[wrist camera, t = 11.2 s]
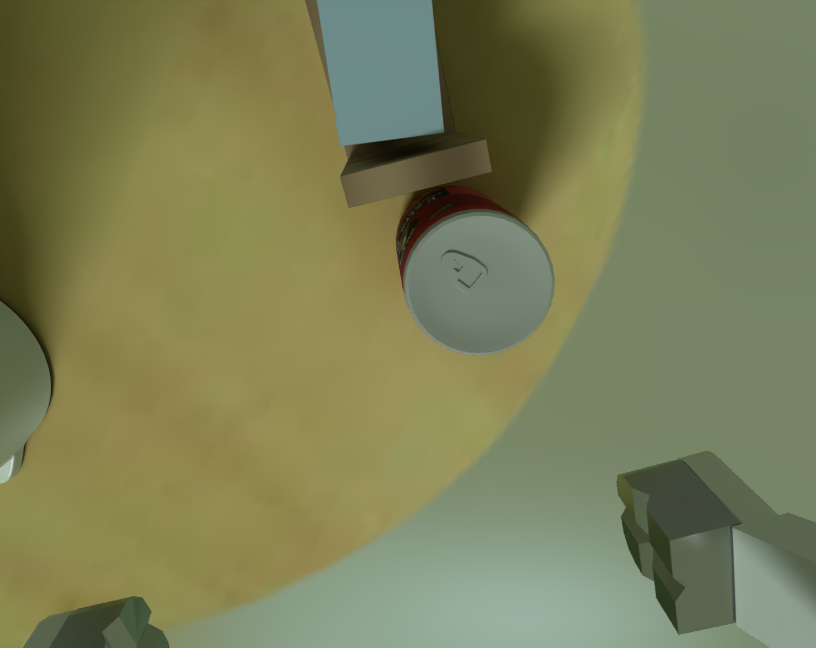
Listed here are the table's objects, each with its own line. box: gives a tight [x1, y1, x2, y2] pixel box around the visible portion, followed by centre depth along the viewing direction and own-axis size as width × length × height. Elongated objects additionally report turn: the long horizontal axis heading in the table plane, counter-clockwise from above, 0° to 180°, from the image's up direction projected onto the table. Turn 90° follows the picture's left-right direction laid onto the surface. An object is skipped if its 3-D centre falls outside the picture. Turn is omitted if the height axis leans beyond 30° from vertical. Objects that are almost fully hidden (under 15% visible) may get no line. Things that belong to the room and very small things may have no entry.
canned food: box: [396, 186, 555, 355], centre depth 34 cm, size 8×8×11 cm
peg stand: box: [305, 0, 492, 208], centre depth 29 cm, size 7×17×11 cm, turn 14°
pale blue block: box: [317, 0, 444, 146], centre depth 27 cm, size 12×5×6 cm, turn 7°
